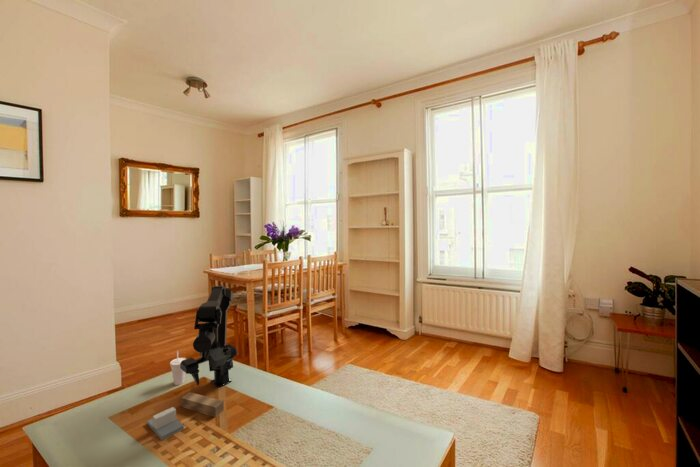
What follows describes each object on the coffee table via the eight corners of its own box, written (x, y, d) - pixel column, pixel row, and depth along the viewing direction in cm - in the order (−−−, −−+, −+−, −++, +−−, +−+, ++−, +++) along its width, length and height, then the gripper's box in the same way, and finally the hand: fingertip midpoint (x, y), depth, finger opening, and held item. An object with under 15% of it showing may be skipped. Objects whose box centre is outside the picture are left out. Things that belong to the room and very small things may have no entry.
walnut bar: (181, 407, 121) (181, 397, 120) (190, 401, 124) (189, 392, 124) (215, 417, 115) (215, 407, 115) (223, 411, 119) (223, 401, 119)
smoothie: (182, 376, 141) (182, 346, 140) (190, 381, 137) (189, 350, 136) (167, 383, 136) (166, 351, 135) (175, 388, 132) (174, 356, 131)
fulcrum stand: (147, 424, 111) (146, 410, 111) (168, 413, 116) (168, 401, 116) (161, 440, 104) (161, 426, 103) (183, 428, 109) (183, 415, 109)
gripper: (192, 356, 103) (194, 401, 105) (244, 338, 118) (245, 377, 119) (178, 345, 111) (180, 387, 112) (229, 329, 125) (230, 367, 126)
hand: (210, 379), depth 117 cm, fingers open, 9 cm apart
